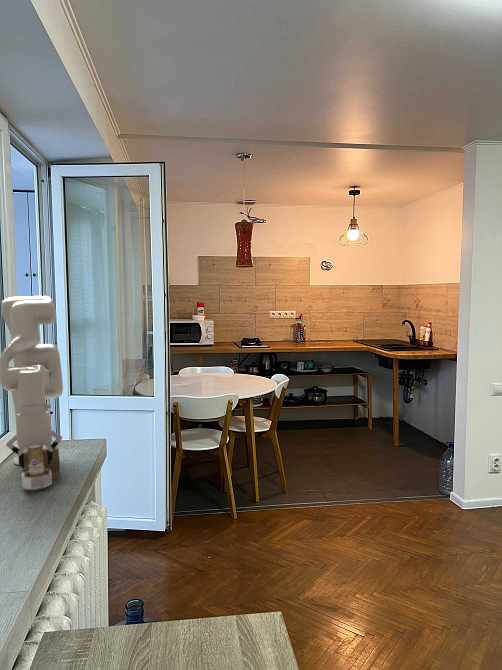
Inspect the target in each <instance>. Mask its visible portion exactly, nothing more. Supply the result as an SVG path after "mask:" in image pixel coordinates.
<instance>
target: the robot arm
mask: <svg viewBox="0 0 502 670" xmlns="http://www.w3.org/2000/svg"><path fill="white" fill-rule="evenodd" d="M53 301H54V300H53V299H52V298H51V297H50V296H47V295H43V296H42V295H40V296H39V295H34V296H30V295H29V296H12V297H8V298H5V299H4V300H2V301H1V304H0V305H1V307H0V308H1V315H2V319H3V321H4V323H5V325H6V326H7V328H8V331H9V333H10V339H11V341H10V342H9V343H7V345H6V346H5V347H4V349H3V351H2V352H1V354H0V386H1V387H2V389H4V390H5V391H7V392H9V391H10V392H11V396H12V400H13V407H14V417H15V430H16V431H15V433H16V434H15V435H14V436H13V437H11V439H9V440H8V441H7V442H6V444H5V445H6V447H8V449H9V450H11V451H12V452H13V453H14V454H15V455H17V456H15V457H14V458H13V464H15V465H18V466H21V469H23V468H24V453H23V452H26V451H28V449H27V447H30V446H33V445H42V449H48V450H47V457H48V464H50V461H53V459H52V451H53V449H54V448H57V447H58V445H59V444H60V442H61V441H62V439H63V436H62V435H60V434H59V433H57V432H56V431H54V430H53V429H52V423H51V417H50V416H51V415H50V412H49V411H48V409H51V408H52V406H51V403H47V402H46V400H49V399H57V398H59V397H62V394H63V389H64V384H63V373H62V365H61V363H62V362H61V355H60V351H59V349H58V347H57V346H56V345H55V344H53V343H52V344H50V343H43V344H40V340H41V336H40V328H39V326H41V325H52V324H54V323H55V322H56V319H57V311H56V306H55V303H54V302H53ZM11 361H13V366H9V365H10V364H9V363H10V362H11ZM53 438H54V439H55V440H54V441H53ZM52 441H53V442H52ZM15 442H16V445H14V443H15Z"/></svg>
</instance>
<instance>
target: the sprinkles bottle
mask: <svg viewBox="0 0 502 670" xmlns="http://www.w3.org/2000/svg"><path fill="white" fill-rule="evenodd" d="M27 449H28V460H29V473H30V477H39V476H43V475H44V461H43V450H42V445H33V446H30V447H27Z"/></svg>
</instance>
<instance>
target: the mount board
mask: <svg viewBox="0 0 502 670" xmlns="http://www.w3.org/2000/svg"><path fill="white" fill-rule="evenodd" d="M59 449H60V448H59V447H58V446H56V447H55V448H54V449H53V451H52V459H53V461H50V464H48V457H47V450H48V449H42V450H43V460H44V468H47V469H51V472H52V480H55V479H56V480H57V479H61V470H60V469H61V467H60V453H59V452H60V450H59ZM23 453H24V468H22V471H23V472H22V473H24V472H26V471H29V460H28V451H26V452H23Z"/></svg>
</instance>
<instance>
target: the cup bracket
mask: <svg viewBox="0 0 502 670" xmlns="http://www.w3.org/2000/svg"><path fill="white" fill-rule="evenodd" d="M43 461H44V460H43ZM52 484H53V479H52V472H51V469H47V468H44V475H43V476H39V477H30V473H29V471H26V472H24V473H23V472H22V473H21V487H22V489H23V490H26V491H37V490H38V491H40V490H43V489H47V488H48V487H50V486H51V485H52Z"/></svg>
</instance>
